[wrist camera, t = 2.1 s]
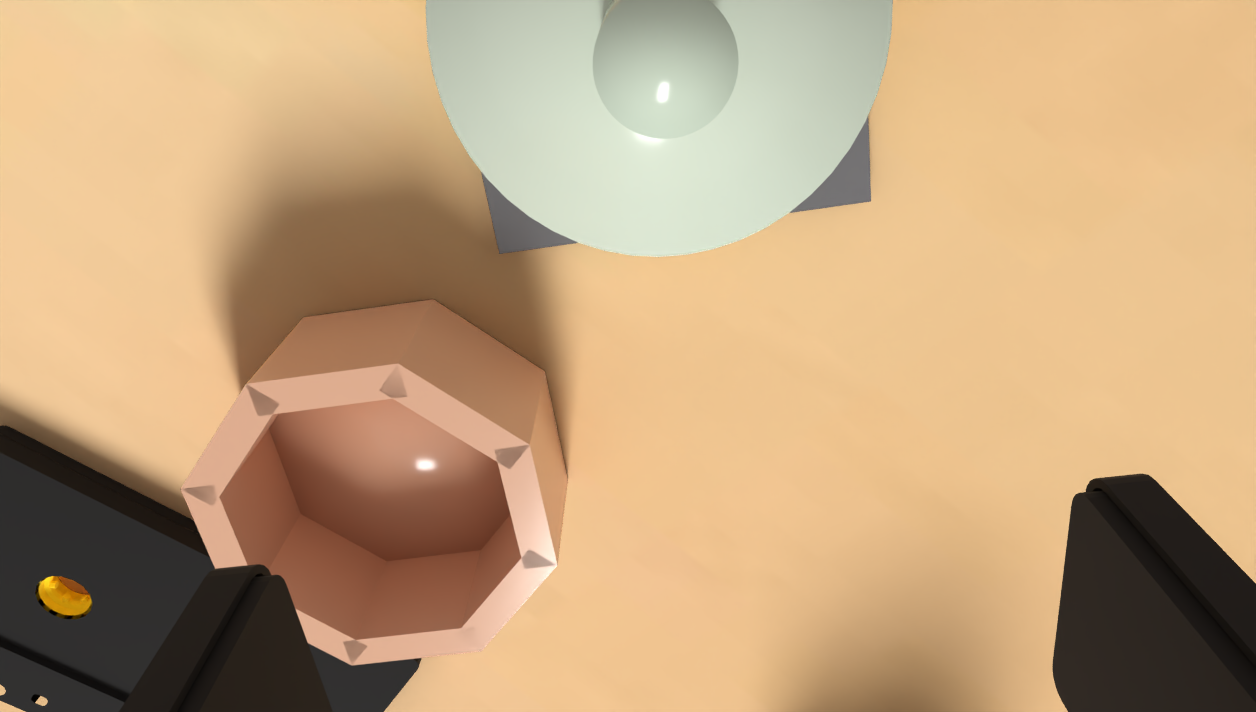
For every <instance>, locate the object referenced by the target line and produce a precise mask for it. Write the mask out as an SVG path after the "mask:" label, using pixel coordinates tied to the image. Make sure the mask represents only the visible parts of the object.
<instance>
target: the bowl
mask: <svg viewBox="0 0 1256 712" xmlns="http://www.w3.org/2000/svg"><path fill="white" fill-rule="evenodd" d="M567 483H568V478H567V473H566V469H565V464H564V459H563V455H562V450H561V445H560V440H559V436H558V431H557V426H556V422H555V417H554V412H553V407H552V403H551V398H550V393H549V388H548V384H547V379H546V374H545V371H544V370H542V369H540V368H539V367H537V366H536V365H534V364H533V363H531V362H530V361H528V360H527V359H525V358H523V357H522V356H520V355H519V354H517V353H516V352H514V351H513V350H511V349H510V348H508V347H506V346H505V345H503V344H502V343H500V342H499V341H497V340H496V339H494V338H493V337H491V336H489V335H488V334H486V333H485V332H483V331H482V330H480V329H479V328H477V327H475V326H474V325H472V324H471V323H469V322H468V321H466V320H465V319H463V318H462V317H460V316H458V315H457V314H455V313H454V312H452V311H451V310H449V309H448V308H446V307H445V306H443V305H441V304H440V303H438V302H437V301H435V300H434V299H431V300H424V301H417V302H410V303H403V304H395V305H388V306H381V307H374V308H367V309H359V310H352V311H345V312H338V313H330V314H323V315H316V316H309V317H303V318H302V319H301V320H300V322H299V323H298V324H297V325H296V326H295V327H294V329H293V330H292V331H291V332H290V333H289V334H288V336H287V337H286V338H285V339H284V340H283V341H282V343H281V344H280V345H279V346H278V347H277V348H276V349H275V351H274V352H273V353H272V354H271V355H270V356H269V358H268V359H267V360H266V361H265V362H264V363H263V365H262V366H261V367H260V368H259V369H258V370H257V372H256V373H255V374H254V375H253V376H252V377H251V378H250V380H249V381H248V382H247V383H246V384H245V386H244V388H243V389H242V391H241V392H240V394H239V396H238V397H237V399H236V401H235V402H234V404H233V405H232V407H231V409H230V410H229V412H228V413H227V415H226V417H225V418H224V420H223V421H222V423H221V425H220V426H219V428H218V429H217V431H216V433H215V434H214V436H213V437H212V439H211V441H210V442H209V444H208V445H207V447H206V449H205V450H204V452H203V453H202V455H201V457H200V458H199V460H198V462H197V463H196V465H195V466H194V468H193V470H192V471H191V473H190V474H189V476H188V478H187V479H186V481H185V482H184V484H183V486H182V487H181V492H182V494H183V496H184V498H185V501H186V503H187V505H188V508H189V510H190V512H191V514H192V517H193V519H194V521H195V524H196V526H197V528H198V530H199V533H200V535H201V537H202V540H203V542H204V544H205V547H206V549H207V551H208V553H209V556H210V558H211V560H212V563H213V565H214V567H215V569H216V568H226V567H236V566H246V565H256V564H261V565H265V566H266V567H267V568H268V569H269V571H270V573H271V575H280V576H281V577H282V578H283V579H284V580H285V582H286V584H287V587H288V590H289V593H290V595H291V598H292V601H293V604H294V606H295V609H296V612H297V615H298V617H299V620H300V623H301V626H302V628H303V631H304V634H305V637H306V639H307V642H308V643H309V644H311V645H313V646H315V647H317V648H319V649H321V650H323V651H325V652H326V653H328V654H330V655H332V656H334V657H336V658H338V659H340V660H342V661H344V662H346V663H348V664H350V665H361V664H370V663H379V662H388V661H397V660H406V659H415V658H424V657H433V656H442V655H451V654H461V653H470V652H479V651H482V650H483V649H484V648H485V647H486V646H487V644H488V643H489V642H490V641H491V640H492V639H493V638H494V636H495V635H496V634H497V633H498V632H499V631H500V630H501V629H502V627H503V626H504V625H505V624H506V623H507V622H508V621H509V619H510V618H511V617H512V616H513V615H514V614H515V613H516V612H517V610H518V609H519V608H520V607H521V606H522V605H523V604H524V603H525V601H526V600H527V599H528V598H529V597H530V596H531V595H532V593H533V592H534V591H535V590H536V589H537V588H538V587H539V586H540V584H541V583H542V582H543V581H544V580H545V579H546V578H547V577H548V575H549V574H550V573H551V572H552V571H553V570H554V569H555V567H556V566H557V565H558V557H559V548H560V540H561V532H562V524H563V515H564V507H565V499H566V491H567Z"/></svg>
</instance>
